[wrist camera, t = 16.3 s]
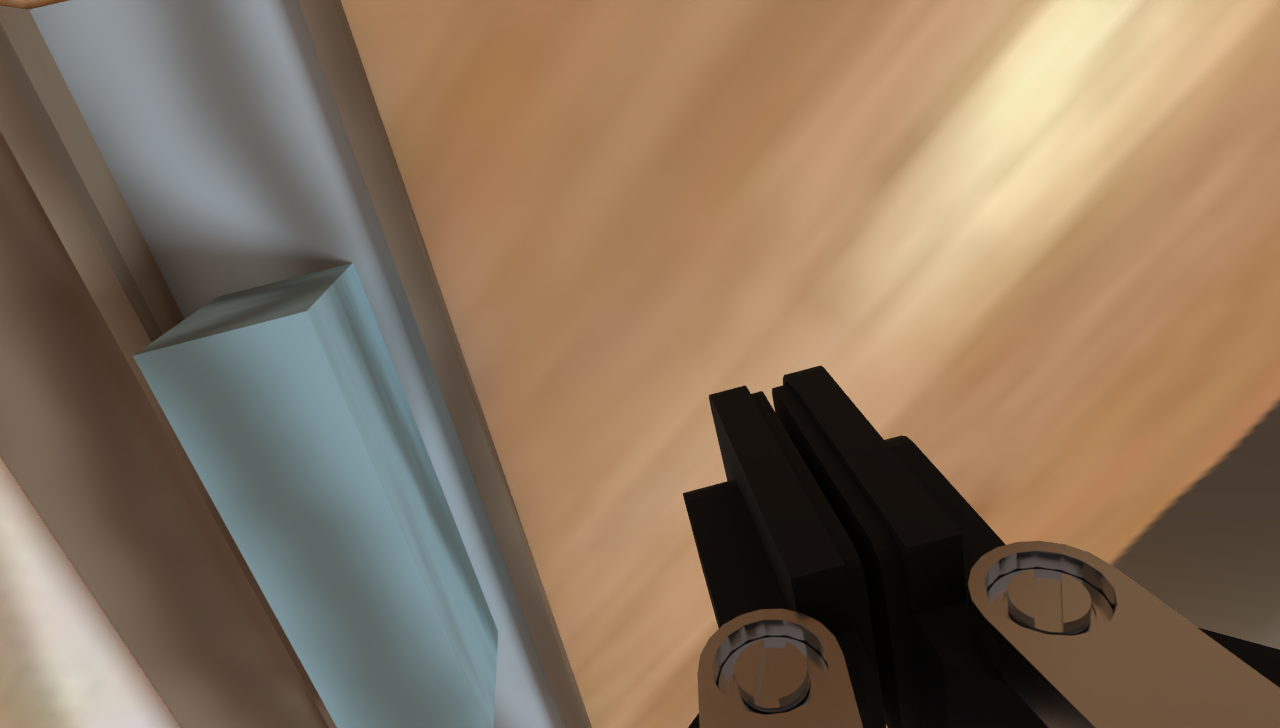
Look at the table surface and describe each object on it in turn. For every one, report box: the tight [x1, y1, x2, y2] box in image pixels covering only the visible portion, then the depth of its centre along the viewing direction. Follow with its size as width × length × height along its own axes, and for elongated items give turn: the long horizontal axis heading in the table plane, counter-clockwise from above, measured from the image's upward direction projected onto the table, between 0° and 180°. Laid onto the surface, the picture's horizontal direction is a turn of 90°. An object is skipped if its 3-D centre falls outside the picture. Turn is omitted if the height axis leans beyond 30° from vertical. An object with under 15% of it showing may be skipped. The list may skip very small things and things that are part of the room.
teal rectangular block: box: [133, 263, 498, 728], centre depth 27 cm, size 5×18×6 cm, turn 13°
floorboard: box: [0, 0, 592, 728], centre depth 28 cm, size 16×38×3 cm, turn 13°
